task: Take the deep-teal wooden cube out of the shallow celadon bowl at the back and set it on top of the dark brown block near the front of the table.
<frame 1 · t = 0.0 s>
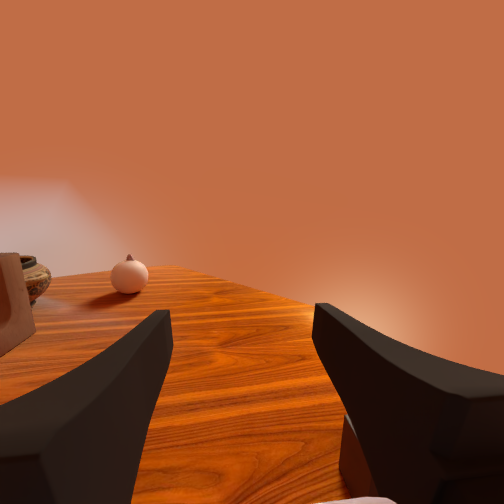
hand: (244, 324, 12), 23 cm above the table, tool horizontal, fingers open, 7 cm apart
dark brown block: (382, 435, 22), on the table
ceramic bowl: (12, 309, 62), on the table
ornament: (131, 292, 74), on the table
wooden block: (7, 345, 47), on the table
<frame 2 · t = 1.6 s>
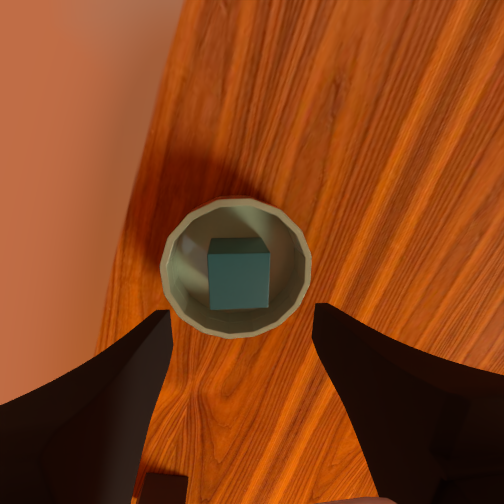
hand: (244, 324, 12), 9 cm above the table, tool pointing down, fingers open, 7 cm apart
dish: (236, 259, 20), on the table
teal block: (236, 261, 20), resting on dish
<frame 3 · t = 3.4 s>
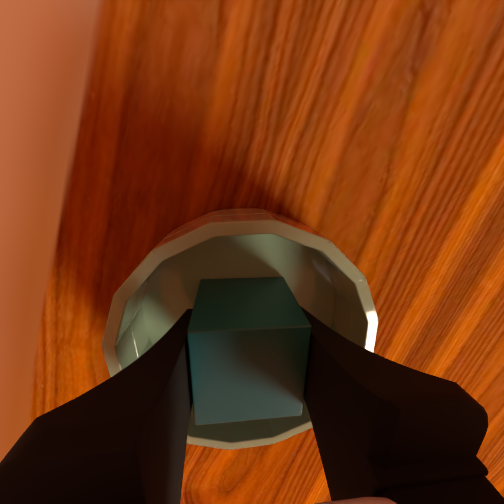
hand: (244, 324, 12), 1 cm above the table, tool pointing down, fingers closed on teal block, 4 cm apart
dish: (242, 308, 13), on the table
teal block: (242, 313, 12), resting on dish, touching gripper
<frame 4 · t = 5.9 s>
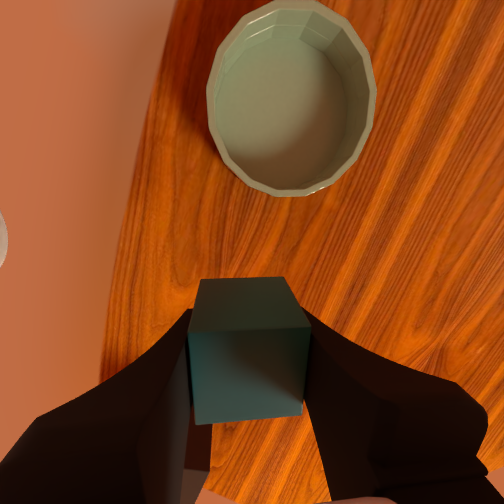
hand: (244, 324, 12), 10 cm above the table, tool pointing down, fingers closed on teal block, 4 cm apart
dish: (281, 121, 18), on the table
dark brown block: (172, 488, 20), on the table
teal block: (242, 313, 12), point 9 cm above the table, touching gripper
when the fingers open (8 cm above the table, at t = 8.4 s): teal block stays where it is, resting on dark brown block.
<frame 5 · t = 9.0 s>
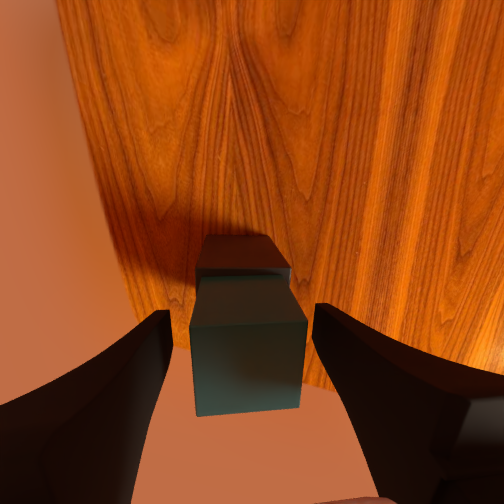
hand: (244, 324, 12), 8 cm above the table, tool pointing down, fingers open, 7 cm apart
dark brown block: (243, 310, 13), on the table
teal block: (242, 310, 13), point 7 cm above the table, touching dark brown block
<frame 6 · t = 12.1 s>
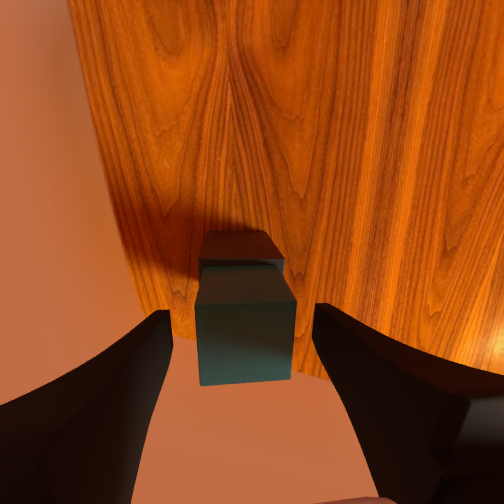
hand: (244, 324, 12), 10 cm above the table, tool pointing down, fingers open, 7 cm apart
dark brown block: (241, 297, 14), on the table
teal block: (240, 297, 14), point 7 cm above the table, touching dark brown block
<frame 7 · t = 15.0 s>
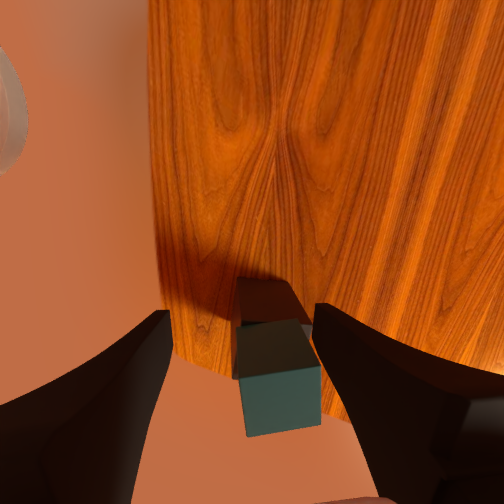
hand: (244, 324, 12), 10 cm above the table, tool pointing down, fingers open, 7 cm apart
dark brown block: (271, 353, 16), on the table
teal block: (269, 347, 16), point 7 cm above the table, touching dark brown block
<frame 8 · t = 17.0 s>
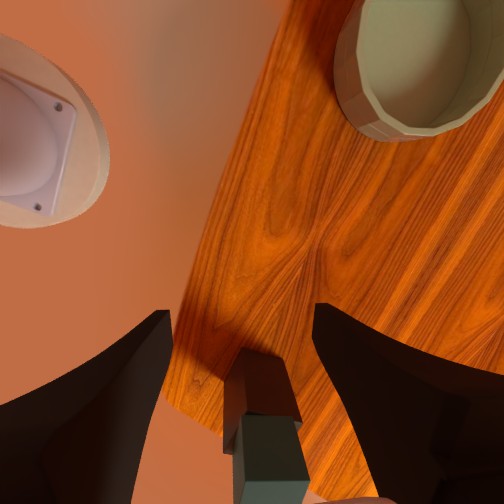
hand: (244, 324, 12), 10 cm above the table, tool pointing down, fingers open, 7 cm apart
dish: (401, 64, 18), on the table
dark brown block: (262, 438, 19), on the table
teal block: (262, 434, 19), point 7 cm above the table, touching dark brown block
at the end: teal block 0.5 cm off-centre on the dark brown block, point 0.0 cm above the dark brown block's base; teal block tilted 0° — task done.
